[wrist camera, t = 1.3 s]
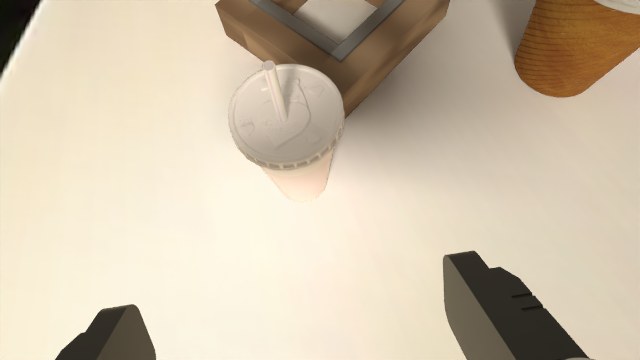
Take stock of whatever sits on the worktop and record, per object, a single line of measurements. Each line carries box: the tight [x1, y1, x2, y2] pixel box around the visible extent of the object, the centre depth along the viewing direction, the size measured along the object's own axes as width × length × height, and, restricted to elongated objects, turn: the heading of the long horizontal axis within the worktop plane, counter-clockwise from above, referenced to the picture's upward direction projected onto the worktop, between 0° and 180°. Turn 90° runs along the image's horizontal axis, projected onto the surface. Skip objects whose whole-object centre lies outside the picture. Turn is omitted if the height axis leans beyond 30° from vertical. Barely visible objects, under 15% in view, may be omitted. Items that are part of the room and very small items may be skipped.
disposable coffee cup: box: [515, 0, 640, 97], centre depth 28 cm, size 10×10×12 cm
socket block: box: [215, 0, 450, 119], centre depth 34 cm, size 14×14×4 cm
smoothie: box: [228, 61, 345, 203], centre depth 24 cm, size 6×6×14 cm
